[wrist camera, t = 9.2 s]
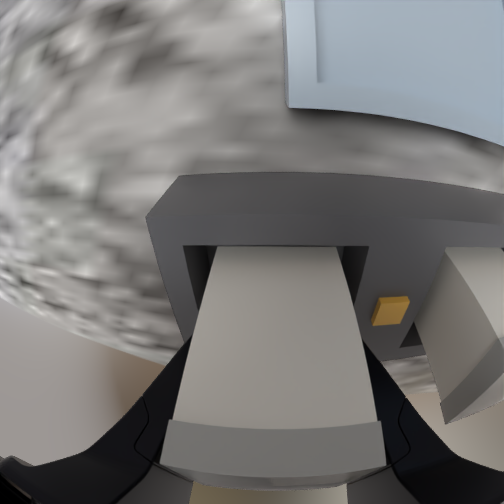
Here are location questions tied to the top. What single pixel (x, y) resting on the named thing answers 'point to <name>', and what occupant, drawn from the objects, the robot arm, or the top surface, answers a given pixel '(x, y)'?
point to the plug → (275, 377)
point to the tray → (399, 60)
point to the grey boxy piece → (361, 261)
